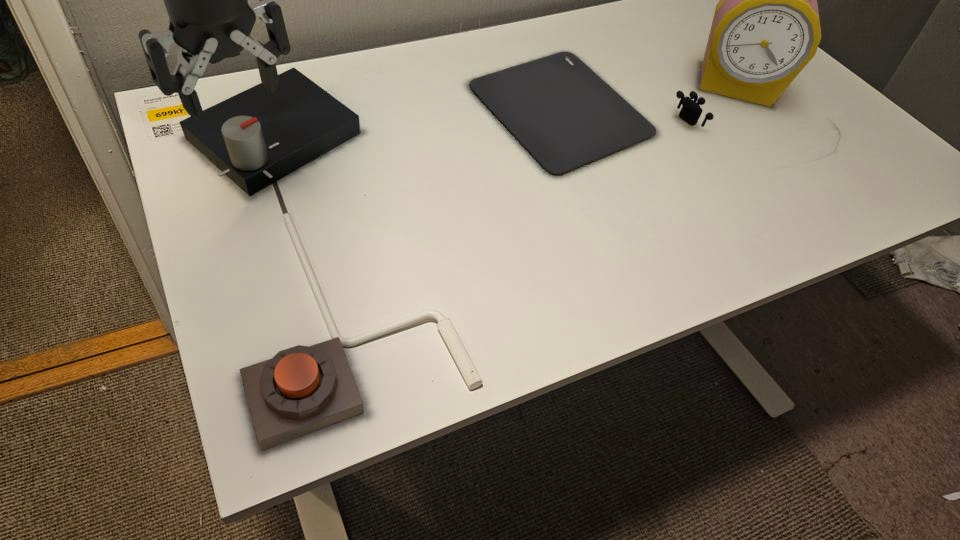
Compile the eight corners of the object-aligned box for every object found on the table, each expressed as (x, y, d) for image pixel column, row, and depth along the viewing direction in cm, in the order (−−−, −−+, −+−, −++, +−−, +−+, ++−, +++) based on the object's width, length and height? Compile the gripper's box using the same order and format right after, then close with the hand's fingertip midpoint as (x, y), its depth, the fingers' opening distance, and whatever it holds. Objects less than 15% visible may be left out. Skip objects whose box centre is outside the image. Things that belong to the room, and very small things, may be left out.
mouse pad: (660, 134, 91) (661, 132, 91) (552, 178, 83) (553, 176, 83) (568, 50, 101) (568, 49, 101) (465, 82, 93) (465, 81, 93)
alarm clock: (689, 89, 98) (738, -22, 84) (692, 61, 103) (739, -49, 89) (781, 112, 97) (848, 4, 82) (779, 82, 102) (842, -25, 87)
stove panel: (246, 212, 74) (240, 194, 72) (173, 145, 80) (165, 126, 77) (369, 139, 84) (368, 121, 82) (296, 84, 90) (293, 66, 87)
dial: (245, 177, 74) (235, 143, 69) (223, 158, 75) (212, 124, 71) (275, 160, 76) (267, 126, 72) (254, 142, 77) (245, 108, 73)
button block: (262, 450, 57) (253, 434, 54) (243, 378, 62) (235, 360, 58) (364, 412, 61) (362, 395, 57) (340, 346, 65) (337, 327, 62)
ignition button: (282, 405, 57) (279, 397, 55) (272, 369, 59) (269, 360, 57) (325, 390, 58) (323, 382, 56) (313, 355, 60) (311, 346, 58)
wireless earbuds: (707, 132, 92) (720, 106, 88) (696, 138, 91) (710, 111, 87) (672, 107, 95) (684, 80, 91) (662, 112, 94) (673, 85, 90)
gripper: (132, -1, 51) (188, 145, 64) (286, -43, 57) (308, 97, 70) (98, -41, 54) (158, 106, 67) (247, -77, 60) (275, 64, 73)
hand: (235, 101), depth 69 cm, fingers open, 8 cm apart
